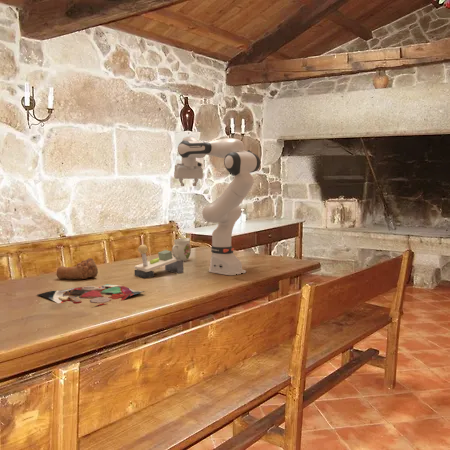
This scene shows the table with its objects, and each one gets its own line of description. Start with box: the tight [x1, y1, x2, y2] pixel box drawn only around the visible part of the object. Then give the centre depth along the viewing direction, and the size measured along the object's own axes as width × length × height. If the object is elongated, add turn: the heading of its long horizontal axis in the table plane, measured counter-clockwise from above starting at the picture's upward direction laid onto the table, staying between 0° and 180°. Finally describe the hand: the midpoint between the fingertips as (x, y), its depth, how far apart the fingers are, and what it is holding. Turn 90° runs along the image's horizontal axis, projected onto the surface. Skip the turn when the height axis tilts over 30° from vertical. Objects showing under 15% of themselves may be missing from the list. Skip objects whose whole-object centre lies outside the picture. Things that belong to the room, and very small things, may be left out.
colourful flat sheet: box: [37, 283, 146, 309], centre depth 213 cm, size 35×35×2 cm
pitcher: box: [171, 237, 192, 262], centre depth 300 cm, size 11×18×14 cm, turn 148°
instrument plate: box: [134, 244, 177, 272], centre depth 257 cm, size 20×12×14 cm, turn 132°
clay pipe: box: [55, 257, 99, 280], centre depth 247 cm, size 19×11×15 cm
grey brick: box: [134, 257, 184, 279], centre depth 260 cm, size 12×25×7 cm, turn 132°
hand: (188, 186), depth 289 cm, fingers open, 8 cm apart
